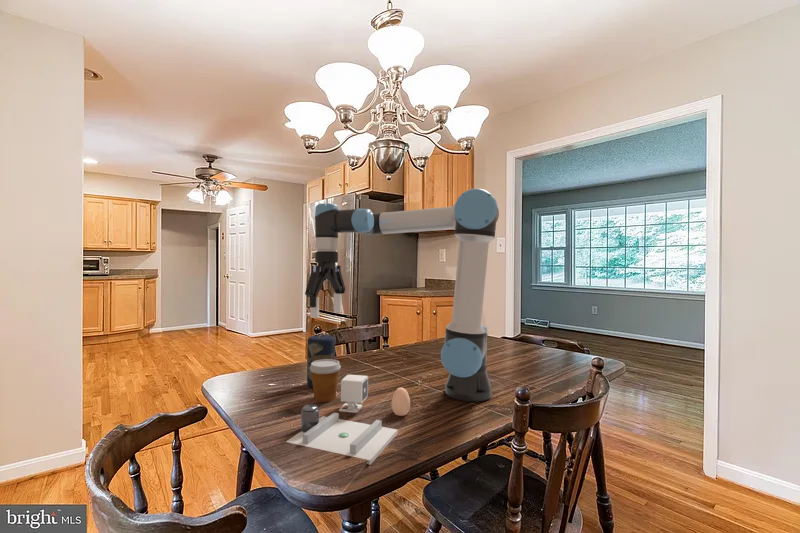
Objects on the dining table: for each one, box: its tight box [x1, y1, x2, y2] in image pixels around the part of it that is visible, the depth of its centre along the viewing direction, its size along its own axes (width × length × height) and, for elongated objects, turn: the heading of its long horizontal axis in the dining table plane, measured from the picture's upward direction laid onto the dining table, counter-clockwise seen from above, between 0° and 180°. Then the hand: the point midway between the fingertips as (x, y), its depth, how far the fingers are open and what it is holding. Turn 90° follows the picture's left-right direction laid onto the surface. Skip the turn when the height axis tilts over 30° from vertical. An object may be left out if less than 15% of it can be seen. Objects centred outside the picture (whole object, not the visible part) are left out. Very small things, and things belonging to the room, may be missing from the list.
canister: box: [306, 333, 336, 387], centre depth 133 cm, size 10×10×18 cm
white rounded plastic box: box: [338, 374, 369, 414], centre depth 110 cm, size 6×7×10 cm
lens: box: [300, 403, 320, 433], centre depth 96 cm, size 4×4×6 cm
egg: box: [391, 387, 411, 417], centre depth 106 cm, size 5×5×8 cm
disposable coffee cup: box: [310, 359, 342, 403], centre depth 118 cm, size 10×10×12 cm
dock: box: [285, 412, 399, 466], centre depth 93 cm, size 22×16×3 cm
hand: (326, 314), depth 126 cm, fingers open, 13 cm apart
